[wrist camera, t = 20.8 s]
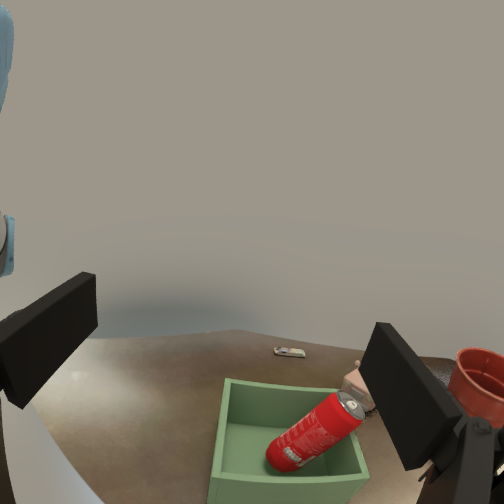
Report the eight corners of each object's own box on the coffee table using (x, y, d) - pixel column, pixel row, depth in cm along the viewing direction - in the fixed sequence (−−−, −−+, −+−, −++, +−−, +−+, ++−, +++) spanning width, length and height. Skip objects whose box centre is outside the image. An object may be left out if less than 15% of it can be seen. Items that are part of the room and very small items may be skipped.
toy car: (329, 395, 46) (347, 350, 43) (369, 368, 55) (385, 329, 53) (368, 421, 39) (392, 377, 36) (402, 387, 48) (422, 347, 46)
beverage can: (255, 448, 28) (329, 389, 26) (278, 440, 32) (344, 386, 30) (278, 480, 25) (359, 424, 23) (299, 469, 28) (371, 416, 27)
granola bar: (303, 352, 59) (304, 348, 59) (305, 358, 57) (306, 354, 57) (273, 349, 59) (274, 345, 59) (274, 355, 57) (275, 351, 56)
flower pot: (440, 407, 41) (477, 339, 37) (492, 447, 26) (540, 377, 23) (393, 438, 34) (439, 360, 30) (454, 495, 20) (523, 417, 16)
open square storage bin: (205, 509, 21) (211, 476, 19) (218, 421, 36) (225, 377, 34) (337, 511, 22) (370, 477, 19) (320, 429, 37) (339, 388, 35)
